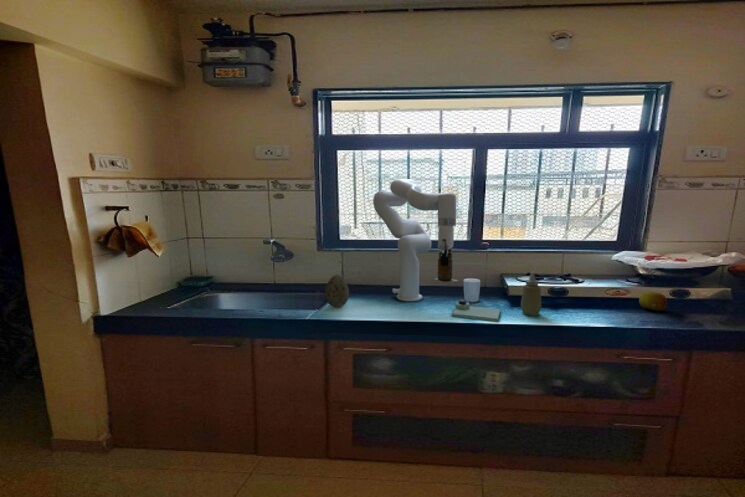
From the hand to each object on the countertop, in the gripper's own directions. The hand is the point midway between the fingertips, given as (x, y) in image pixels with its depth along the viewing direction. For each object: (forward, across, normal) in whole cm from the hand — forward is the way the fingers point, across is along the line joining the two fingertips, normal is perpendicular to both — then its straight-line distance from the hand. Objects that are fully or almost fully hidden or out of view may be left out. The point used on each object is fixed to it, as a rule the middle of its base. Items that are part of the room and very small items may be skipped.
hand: (446, 263), depth 151 cm
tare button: (+18, -3, +7) cm, 20 cm away
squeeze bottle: (+21, -8, +34) cm, 41 cm away
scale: (+21, 0, +13) cm, 25 cm away
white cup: (+21, -20, +8) cm, 30 cm away
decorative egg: (+21, +13, -47) cm, 53 cm away
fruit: (+21, -33, +82) cm, 91 cm away
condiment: (+7, +1, 0) cm, 7 cm away
